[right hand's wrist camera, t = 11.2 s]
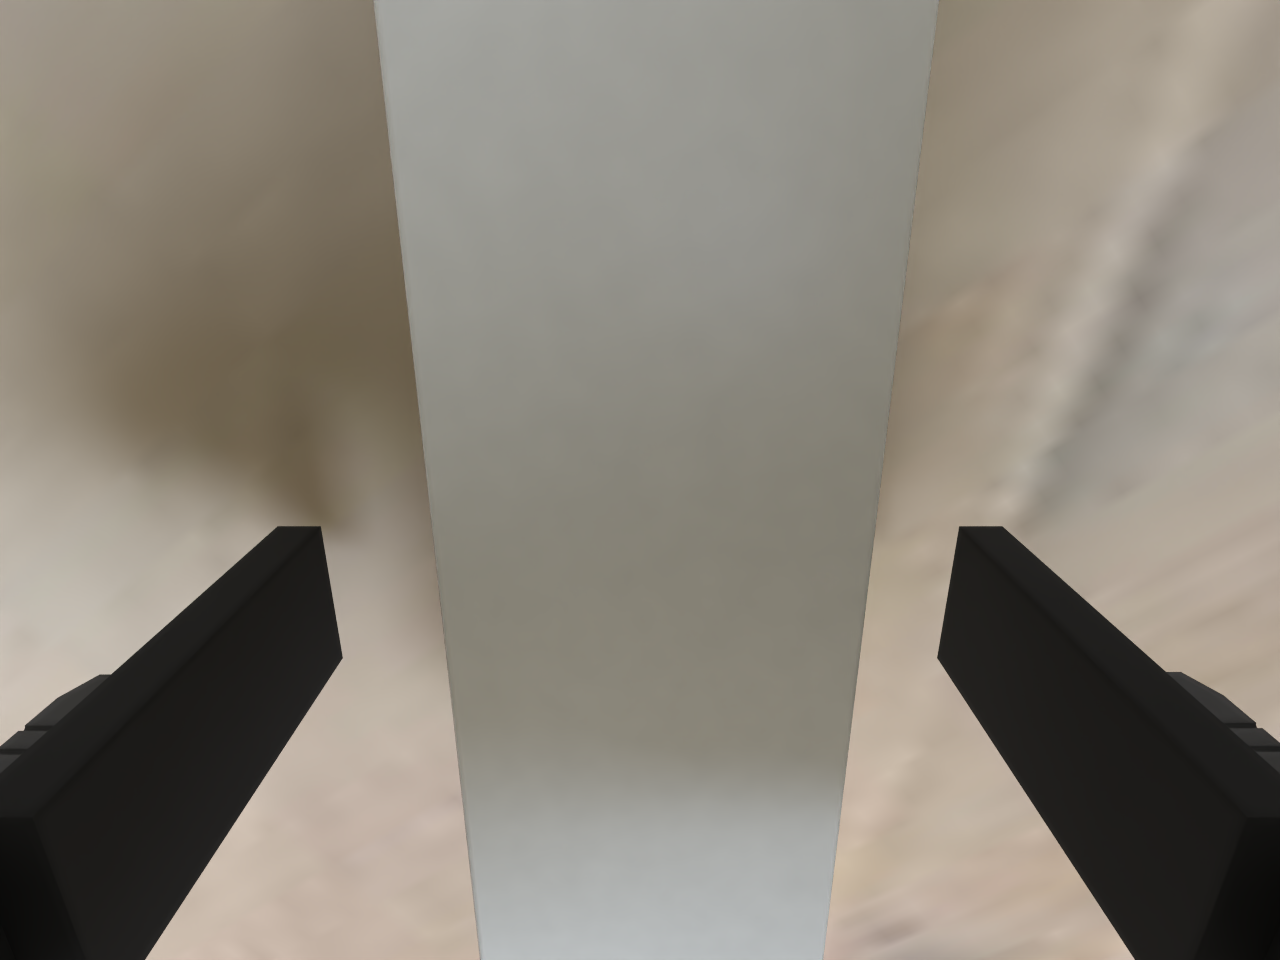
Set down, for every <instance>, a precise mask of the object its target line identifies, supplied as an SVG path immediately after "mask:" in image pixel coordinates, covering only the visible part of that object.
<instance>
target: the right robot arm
mask: <svg viewBox="0 0 1280 960" xmlns="http://www.w3.org/2000/svg"><path fill="white" fill-rule="evenodd" d="M342 658H343V657H342V651H341V645H340V639H339V633H338V627H337V621H336V615H335V609H334V603H333V597H332V591H331V585H330V579H329V573H328V567H327V561H326V555H325V549H324V543H323V537H322V531H321V526H278V527H277V528H275V529H274V530H273V531H272V532H271V533H270V534H269V535H268V536H266V537H265V538H264V539H263V540H262V541H261V542H260V543H259V544H257V545H256V546H255V547H254V548H253V549H252V550H251V551H250V552H248V553H247V554H246V555H245V556H244V557H243V558H242V559H241V560H239V561H238V562H237V563H236V564H235V565H234V566H233V567H232V568H230V569H229V570H228V571H227V572H226V573H225V574H224V575H223V576H221V577H220V578H219V579H218V580H217V581H216V582H215V583H214V584H212V585H211V586H210V587H209V588H208V589H207V590H206V591H205V592H203V593H202V594H201V595H200V596H199V597H198V598H197V599H196V600H194V601H193V602H192V603H191V604H190V605H189V606H188V607H187V608H185V609H184V610H183V611H182V612H181V613H180V614H179V615H178V616H177V617H175V618H174V619H173V620H172V621H171V622H170V623H169V624H168V625H166V626H165V627H164V628H163V629H162V630H161V631H160V632H159V633H157V634H156V635H155V636H154V637H153V638H152V639H151V640H150V641H148V642H147V643H146V644H145V645H144V646H143V647H142V648H141V649H139V650H138V651H137V652H136V653H135V654H134V655H133V656H132V657H130V658H129V659H128V660H127V661H126V662H125V663H124V664H123V665H121V666H120V667H119V668H118V669H117V670H116V671H115V672H114V673H112V674H111V675H98V676H96V677H95V678H93V679H91V680H89V681H87V682H86V683H84V684H82V685H80V686H78V687H76V688H75V689H73V690H71V691H69V692H67V693H66V694H64V695H62V696H60V697H58V698H57V699H56V700H55V701H53V702H52V703H51V704H50V705H49V706H47V707H46V708H45V709H44V710H43V711H42V712H40V713H39V714H38V715H37V716H36V717H34V718H33V719H32V720H31V721H30V722H29V723H27V724H26V725H25V730H24V731H18V732H17V733H16V734H14V735H13V736H12V737H11V738H10V739H9V740H7V741H6V742H5V743H4V744H3V745H1V746H0V960H145V959H146V957H147V956H148V954H149V953H150V951H151V950H152V948H153V947H154V945H155V944H156V942H157V941H158V939H159V938H160V936H161V934H162V933H163V931H164V930H165V928H166V927H167V925H168V924H169V922H170V921H171V919H172V918H173V916H174V915H175V913H176V912H177V910H178V909H179V907H180V905H181V904H182V902H183V901H184V899H185V898H186V896H187V895H188V893H189V892H190V890H191V889H192V887H193V886H194V884H195V883H196V881H197V880H198V878H199V876H200V875H201V873H202V872H203V870H204V869H205V867H206V866H207V864H208V863H209V861H210V860H211V858H212V857H213V855H214V854H215V852H216V851H217V849H218V847H219V846H220V844H221V843H222V841H223V840H224V838H225V837H226V835H227V834H228V832H229V831H230V829H231V828H232V826H233V825H234V823H235V822H236V820H237V818H238V817H239V815H240V814H241V812H242V811H243V809H244V808H245V806H246V805H247V803H248V802H249V800H250V799H251V797H252V796H253V794H254V793H255V791H256V789H257V788H258V786H259V785H260V783H261V782H262V780H263V779H264V777H265V776H266V774H267V773H268V771H269V770H270V768H271V767H272V765H273V764H274V762H275V760H276V759H277V757H278V756H279V754H280V753H281V751H282V750H283V748H284V747H285V745H286V744H287V742H288V741H289V739H290V738H291V736H292V735H293V733H294V731H295V730H296V728H297V727H298V725H299V724H300V722H301V721H302V719H303V718H304V716H305V715H306V713H307V712H308V710H309V709H310V707H311V706H312V704H313V702H314V701H315V699H316V698H317V696H318V695H319V693H320V692H321V690H322V689H323V687H324V686H325V684H326V683H327V681H328V680H329V678H330V677H331V675H332V673H333V672H334V670H335V669H336V667H337V666H338V664H339V663H340V661H341V660H342ZM937 658H938V660H939V661H940V663H941V664H942V666H943V667H944V669H945V670H946V672H947V673H948V675H949V677H950V678H951V680H952V681H953V683H954V684H955V686H956V687H957V689H958V690H959V692H960V693H961V695H962V696H963V698H964V699H965V701H966V702H967V704H968V706H969V707H970V709H971V710H972V712H973V713H974V715H975V716H976V718H977V719H978V721H979V722H980V724H981V725H982V727H983V728H984V730H985V731H986V733H987V735H988V736H989V738H990V739H991V741H992V742H993V744H994V745H995V747H996V748H997V750H998V751H999V753H1000V754H1001V756H1002V757H1003V759H1004V760H1005V762H1006V764H1007V765H1008V767H1009V768H1010V770H1011V771H1012V773H1013V774H1014V776H1015V777H1016V779H1017V780H1018V782H1019V783H1020V785H1021V786H1022V788H1023V789H1024V791H1025V793H1026V794H1027V796H1028V797H1029V799H1030V800H1031V802H1032V803H1033V805H1034V806H1035V808H1036V809H1037V811H1038V812H1039V814H1040V815H1041V817H1042V818H1043V820H1044V822H1045V823H1046V825H1047V826H1048V828H1049V829H1050V831H1051V832H1052V834H1053V835H1054V837H1055V838H1056V840H1057V841H1058V843H1059V844H1060V846H1061V847H1062V849H1063V851H1064V852H1065V854H1066V855H1067V857H1068V858H1069V860H1070V861H1071V863H1072V864H1073V866H1074V867H1075V869H1076V870H1077V872H1078V873H1079V875H1080V876H1081V878H1082V880H1083V881H1084V883H1085V884H1086V886H1087V887H1088V889H1089V890H1090V892H1091V893H1092V895H1093V896H1094V898H1095V899H1096V901H1097V902H1098V904H1099V905H1100V907H1101V909H1102V910H1103V912H1104V913H1105V915H1106V916H1107V918H1108V919H1109V921H1110V922H1111V924H1112V925H1113V927H1114V928H1115V930H1116V931H1117V933H1118V934H1119V936H1120V938H1121V939H1122V941H1123V942H1124V944H1125V945H1126V947H1127V948H1128V950H1129V951H1130V953H1131V954H1132V956H1133V957H1134V959H1135V960H1280V743H1279V742H1278V741H1277V740H1276V739H1275V738H1273V737H1272V736H1271V735H1270V734H1269V733H1267V732H1266V731H1265V730H1264V729H1263V728H1257V727H1256V722H1254V721H1253V720H1252V719H1251V718H1250V717H1248V716H1247V715H1246V714H1245V713H1244V712H1243V711H1241V710H1240V709H1239V708H1238V707H1237V706H1235V705H1234V704H1233V703H1232V702H1231V701H1229V700H1228V699H1227V698H1226V697H1225V696H1224V695H1222V694H1220V693H1218V692H1216V691H1214V690H1213V689H1211V688H1209V687H1207V686H1205V685H1204V684H1202V683H1200V682H1198V681H1196V680H1194V679H1193V678H1191V677H1189V676H1187V675H1185V674H1183V673H1182V672H1165V671H1164V670H1163V669H1162V668H1161V667H1160V666H1159V665H1157V664H1156V663H1155V662H1154V661H1153V660H1152V659H1151V658H1150V657H1148V656H1147V655H1146V654H1145V653H1144V652H1143V651H1142V650H1141V649H1139V648H1138V647H1137V646H1136V645H1135V644H1134V643H1133V642H1132V641H1130V640H1129V639H1128V638H1127V637H1126V636H1125V635H1124V634H1123V633H1121V632H1120V631H1119V630H1118V629H1117V628H1116V627H1115V626H1114V625H1113V624H1111V623H1110V622H1109V621H1108V620H1107V619H1106V618H1105V617H1104V616H1102V615H1101V614H1100V613H1099V612H1098V611H1097V610H1096V609H1095V608H1093V607H1092V606H1091V605H1090V604H1089V603H1088V602H1087V601H1086V600H1084V599H1083V598H1082V597H1081V596H1080V595H1079V594H1078V593H1077V592H1075V591H1074V590H1073V589H1072V588H1071V587H1070V586H1069V585H1068V584H1066V583H1065V582H1064V581H1063V580H1062V579H1061V578H1060V577H1059V576H1057V575H1056V574H1055V573H1054V572H1053V571H1052V570H1051V569H1050V568H1048V567H1047V566H1046V565H1045V564H1044V563H1043V562H1042V561H1041V560H1039V559H1038V558H1037V557H1036V556H1035V555H1034V554H1033V553H1032V552H1030V551H1029V550H1028V549H1027V548H1026V547H1025V546H1024V545H1023V544H1021V543H1020V542H1019V541H1018V540H1017V539H1016V538H1015V537H1014V536H1012V535H1011V534H1010V533H1009V532H1008V531H1007V530H1006V529H1005V528H1003V527H1002V526H959V531H958V537H957V543H956V549H955V555H954V561H953V567H952V573H951V579H950V585H949V591H948V597H947V603H946V609H945V615H944V621H943V627H942V633H941V639H940V645H939V651H938V657H937Z"/></svg>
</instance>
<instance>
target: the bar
mask: <svg viewBox="0 0 1280 960" xmlns="http://www.w3.org/2000/svg"><path fill="white" fill-rule="evenodd" d="M373 3H374V12H375V21H376V30H377V39H378V47H379V56H380V65H381V74H382V83H383V92H384V101H385V110H386V119H387V128H388V137H389V146H390V155H391V164H392V173H393V182H394V191H395V200H396V209H397V218H398V227H399V236H400V245H401V254H402V263H403V272H404V281H405V290H406V299H407V308H408V317H409V326H410V335H411V344H412V353H413V362H414V371H415V380H416V389H417V398H418V407H419V416H420V425H421V434H422V442H423V451H424V460H425V469H426V478H427V487H428V496H429V505H430V514H431V523H432V532H433V541H434V550H435V559H436V568H437V577H438V586H439V595H440V604H441V613H442V622H443V631H444V640H445V649H446V658H447V667H448V676H449V685H450V694H451V703H452V712H453V721H454V730H455V739H456V748H457V757H458V766H459V775H460V784H461V793H462V802H463V811H464V820H465V829H466V837H467V846H468V855H469V864H470V873H471V882H472V891H473V900H474V909H475V918H476V927H477V936H478V945H479V954H480V960H823V956H824V948H825V939H826V931H827V923H828V915H829V906H830V898H831V890H832V881H833V873H834V865H835V857H836V848H837V840H838V832H839V824H840V815H841V807H842V799H843V790H844V782H845V774H846V766H847V757H848V749H849V741H850V733H851V724H852V716H853V708H854V699H855V691H856V683H857V675H858V666H859V658H860V650H861V642H862V633H863V625H864V617H865V608H866V600H867V592H868V584H869V575H870V567H871V559H872V551H873V542H874V534H875V526H876V517H877V509H878V501H879V493H880V484H881V476H882V468H883V460H884V451H885V443H886V435H887V426H888V418H889V410H890V402H891V393H892V385H893V377H894V369H895V360H896V352H897V344H898V335H899V327H900V319H901V311H902V302H903V294H904V286H905V278H906V269H907V261H908V253H909V244H910V236H911V228H912V220H913V211H914V203H915V195H916V187H917V178H918V170H919V162H920V153H921V145H922V137H923V129H924V120H925V112H926V104H927V96H928V87H929V79H930V71H931V62H932V54H933V46H934V38H935V29H936V21H937V13H938V5H939V0H373Z"/></svg>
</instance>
